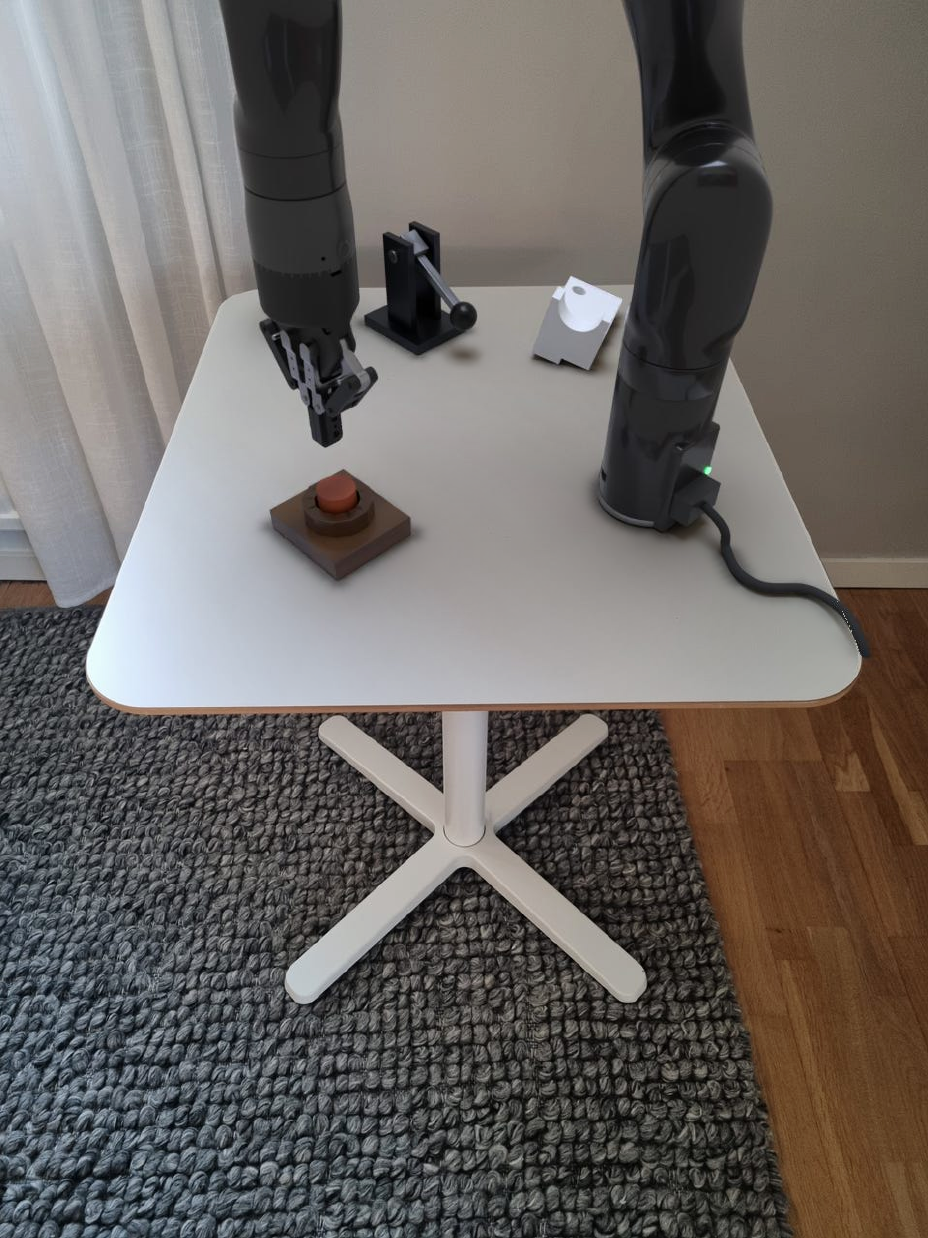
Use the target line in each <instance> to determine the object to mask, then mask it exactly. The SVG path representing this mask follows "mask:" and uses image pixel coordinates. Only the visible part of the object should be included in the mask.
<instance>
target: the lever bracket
mask: <svg viewBox="0 0 928 1238" xmlns="http://www.w3.org/2000/svg"><path fill="white" fill-rule="evenodd" d="M412 230H415V231H416V232H417V233H418V234H419V236H420V237H421V238H422V240H423V241H424V242H425V244H426V245H427V246H428V248H429V249H428V251H427V253H426V255H425V256H426V258H427V259H428V260H429V262H430V263H431V264H432V265H433V267H434V268H435V269H436V271H437V272H438V273H439V275H440V276H441V274H442V273H441V233H440V232H439V231H437V230H435V229H433V228H430V227H428V226H427V225H424V224H422V223H421V222H418V221H416V220H412V221H411V222H408V232H409V231H412ZM381 235H382V250H383V251H382V252H383V265H384V266H383V267H384V280H385V295H386V296H385V297H386V305H382V306H381V307H378V308H377V309H374V310H373V311H370V312H367V313H366V314H364V315H363V318H364V324H365V325H366V326H368V327H370V328H371V329H373V330H375V331H376V332H378V333H379V334H381V335H383V336H385V337H386V338H388V339H390V340H392V341H393V342H395V343H396V344H399V345H400V346H402V347H403V348H405V349H407V350H408V351H410V352H412V353H414V354H415V355H417V356H418V355H421V354H423V353H425V352H427V351H429V350H430V349H433V348H434V347H437V346H438V345H441V344H443V343H445V342H447V341H448V340H452V339H453V338H455V337H457V336H459V335H461V334H463V333H465V332H466V331H461V330H458V329H456V328H455V327H454V326H453V325H452V324H451V321H450V312H448V311H445V310H443V309H442V298H441V297H440V295H439V294H438V293H437V291H436V290H435V289H434V287H433V286H432V285H431V283H430V282H429V281H428V280H427V278H426V277H425V276H424V274H423V273H422V272H421V270H420V269H419V268H418V266H417V265H415V263H414V244H413V243H411V242H409V241H407V240H405V239H403V238H401V237H400V236H399V235H397V234H395V233H392V232H391V231H389V230H388V231H386V232H383V233H382V234H381ZM441 277H442V276H441Z"/></svg>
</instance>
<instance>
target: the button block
mask: <svg viewBox="0 0 928 1238" xmlns="http://www.w3.org/2000/svg"><path fill="white" fill-rule="evenodd" d="M333 475H342V476H346V477H349V478H350V479H352V480H353V481H354V483H355V485H356V493H357V504H356V506H355V507H354V508H353V509H352V510H350V511H348V512H346V513H340V514H331V513H326V512H324V511H322V510H321V509H320V507H319V505H318V498H317V492H316V487H317V485H318V483H319V482H320V481H321V480H322V479H320V480H318V481H317V482H315V483H313V484H311V485H309V486H308V487H307V488H306V489H305V490H303V491H301V492H298V493H297V494H295V495H294V496H291V497H290V498H288V499H287V500H285V501H283V502H281V503H279V504H277V505H276V506H274V507H272V508H270V509H268V510H269V515H270V516H269V517H270V520H271V524H272V525H271V526H272V528H273V529H275V531H277V532H278V533H279V534H281V535H282V536H283V537H284V538H285V539H287V540H288V541H289V542H290V543H291V544H292V545H294V546H295V547H296V548H298V549H299V550H300V551H301V552H302V553H304V555H306V556H307V557H308V558H309V559H311V560H312V561H313V562H315V564H317V565H318V566H319V567H320V568H322V569H323V570H324V571H325V572H327V574H329V575H330V576H331V577H333V578H334V579H335V580H337V581H339V580H341V579H342V578H343V577H345V576H347V575H349V574H350V573H351V572H353V571H356V569H358V568H359V567H361V566H363V565H364V564H366V563H368V562H369V561H371V560H372V559H374V558H375V557H377V556H379V555H380V554H382V553H383V552H385V551H386V550H388V549H389V548H391V547H393V546H394V545H396V544H398V543H399V542H401V541H403V540H404V539H406V538H407V537H409V536H410V535H412V527H411V524H412V523H411V517H410V516H409V515H408V514H407V513H406V512H404V511H402V509H400V508H398V507H397V506H396V505H395V504H393V503H392V502H390V501H389V500H387V499H386V498H384V497H383V496H382V495H380V494H379V493H378V492H376V491H375V490H373V488H371V487H370V486H369V485H368V484H366V483H365V482H364V481H362V480H360V479H359V478H357V477H356V476H354V475H353V474H351V473H350V472H349V471H347V470H346V469H344V468H342V469H340V470H339V471H337V472H335V473H333V474H332V475H330V476H333Z"/></svg>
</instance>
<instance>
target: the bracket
mask: <svg viewBox="0 0 928 1238" xmlns="http://www.w3.org/2000/svg"><path fill="white" fill-rule="evenodd" d="M622 303H623V299H622V298H621V297H618V296H616V295H614V294H612V293H609V292H607V291H605V290H603V289H600V288H598V287H596V286H594V285H592V284H590V283H587V282H585V281H583V280H581V279H579V278H576V277H574V276H573V275H570V277H569V278H568V280H567V282H566V283H565V285H564V287H561V286H559V285H558V286H557V288H556V289H555V291H554V292H553V294H552V296H551V298H550V301H549V303H548V306H547V309H546V311H545V315H544V317H543V319H542V322H541V325H540V327H539V328H540V329H539V330H538V333H537V336H536V338H535V341H534V344H533V346H532V349H531V353H533V354H535V355H537V356H539V357H541V358H543V359H546V360H548V361H550V362H552V363H554V364H556V365H560V362H561V361H562V360H564V361H566V362H569V363H571V364H573V365H576V366H578V367H580V368H582V369H584V370H585V371H586V370H587V371H590V368H591V366H592V364H593V362H594V360H595V359H596V356H597V354H598V353H599V351H600V348H601V346H602V344H603V342H604V341H605V338H606V336H607V334H608V332H609V331H610V328H611V326H612V324H613V322H614V319H615V317H616V315H617V313H618V312H619V309H620V307H621V304H622Z"/></svg>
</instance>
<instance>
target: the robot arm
mask: <svg viewBox="0 0 928 1238" xmlns="http://www.w3.org/2000/svg"><path fill="white" fill-rule="evenodd" d="M217 1H218V6H219V9H220V10H219V11H220V14H221V18H222V22H223V26H224V33H225V37H226V43H227V47H228V54H229V60H230V65H231V71H232V78H233V82H234V88H235V89H234V90H235V94H234V98H233V102H232V103H233V104H232V118H233V129H234V137H235V142H236V147H237V152H238V159H239V165H240V171H241V176H242V184H243V192H244V215H245V223H246V228H247V229H246V231H247V235H248V241H249V246H250V248H249V249H250V253H251V259H252V264H253V270H254V276H255V281H256V282H255V283H256V287H257V293H258V299H259V304H260V308H261V310H262V312H263V313H264V314H265V315H266V316H267V318H265V319H263V320H261V321H259V323H258V325H259V329H260V331H261V332H260V333H262V336H263V337H264V340H265V341H266V344H267V346H268V347H269V350H270V352H271V353H272V355H273V357H274V359H275V361H276V364H277V365H278V367H279V369H280V371H281V373H282V375H283V378H284V379H285V381H286V383H287V385H288V387H289V388H290V390H292V391H296V390H297V389H298V391H299V396H300V399H301V401H302V403H303V404H304V405H305V406H307V415H308V421H309V427H310V433H311V439H312V440H313V441H314V442H316V443H317V444H318V445H320V446H321V447H322V448H323V449H327V448H329V447H330V446H333V445H334V444H336V443H338V442H340V441H341V440H342V439H343V438H344V437H343V436H344V429H343V421H342V413H344V412H345V411H348V410H350V409H353V408H355V407H357V406H358V405H359V403H361V402H362V400H363V399H364V398H365V396H366V395H367V394H368V392H369V391H370V390H371V389H372V387H373V386H374V385H375V384H376V383H377V382H378V380H379V376H378V372H377V370H376V369H375V368H374V367H373V366H367V367H365V368H364V367H363V365H362V364H361V362H360V361H359V359H358V358H357V356H356V354H355V352H356V349H357V343H356V338H355V336H354V333H353V330H352V327H351V321H352V318H353V315H354V314H355V312H356V311H357V308H358V306H359V303H360V300H361V296H360V295H361V293H360V284H359V271H358V270H359V268H358V258H357V257H358V256H357V246H356V233H355V221H354V211H353V205H352V200H351V195H350V191H349V186H348V179H347V167H346V166H347V165H346V155H345V142H344V133H343V125H342V119H341V111H340V95H341V83H342V63H343V35H344V34H343V33H344V32H343V31H344V30H343V26H344V23H343V22H344V21H343V20H344V18H343V2H342V1H343V0H217ZM620 1H621V6H622V9H623V12H624V16H625V19H626V23H627V26H628V30H629V33H630V36H631V40H632V44H633V49H634V53H635V59H636V64H637V71H638V79H639V90H640V108H641V109H640V110H641V129H642V130H641V131H642V132H641V133H642V135H641V136H642V137H641V139H642V178H641V206H642V208H641V209H642V219H643V224H642V225H643V226H642V233H641V238H640V239H641V240H640V246H639V252H638V259H637V266H636V272H635V277H634V284H633V289H632V295H631V300H630V302H629V303H628V306H627V308H626V311H625V315H624V323H623V330H622V336H621V337H622V338H621V343H620V348H619V350H620V351H619V357H618V361H617V362H618V363H617V368H616V375H615V382H614V388H613V392H612V393H613V394H612V401H611V408H610V413H609V420H608V425H607V433H606V440H605V445H604V451H603V452H604V453H603V457H602V461H601V465H600V470H599V474H598V478H599V479H598V480H597V499H598V500H599V502H600V504H601V506H602V507H603V508H604V510H605V511H606V512H608V513H609V514H610V515H611V516H612V517H614V518H616V519H617V520H620V521H622V522H624V523H627V524H630V525H634V526H639V527H647V528H653V529H656V530H658V531H659V532H661V533H662V532H663V533H664V532H666V531H667V530H668V529H670V528H671V527H672V526H673V525H675V524H676V523H679V524H681V525H683V526H684V527H685V528H686V527H687V528H688V526H690V525H691V524H692V523H693V522H695V521H696V520H697V519H699V518H700V517H702V515H704V514H705V515H706V516H707V517H708V518H709V519H710V520H711V521H712V522H713V523H714V524H715V527H716V528H717V529H718V531H719V534H720V539H719V541H720V549H721V553H722V555H723V557H724V559H725V562H726V565H727V567H728V569H729V570H730V572H731V573H732V574H733V575H734V577H735V578H737V579H738V580H739V581H740V582H742V583H743V584H745V585H747V586H748V587H750V588H752V589H753V590H757V591H760V592H765V593H771V594H786V593H787V594H791V593H792V594H794V593H795V594H804V595H807V596H810V597H812V598H814V599H816V600H818V601H820V602H822V603H823V604H825V605H827V606H828V607H830V608H831V609H832V610H833V611H834V612H836V613H837V614H838V615H839V616H840V618H841V619H842V620H843V622H844V623H845V625H846V626H847V628H848V629H849V631H850V633H851V635H852V638H853V640H854V642H855V644H856V643H857V645H856V647H857V646H858V648H857V651H858V653H859V652H860V653H859V655H860V656H861V657H862V658H864V659H867V660H868V659H871V658H872V652H871V649H870V645H869V643H868V639H867V637H866V636H865V635H866V634H865V633H864V631H863V629H862V627H861V625H860V623H859V621H858V620H857V618H856V616H855V615H854V613H853V612H852V611H851V610H850V609H849V607H848V606H846V604H844V603H843V602H842V601H840V599H838V598H836V597H835V596H833V595H832V594H830V593H828V592H826V591H824V590H822V589H821V588H820V587H816V586H814V585H811V584H807V583H802V582H801V583H800V582H768V581H765V580H764V581H763V580H760V579H759V578H757V577H754V576H753V575H751V574H749V573H748V572H746V570H744V569H743V568H742V567H741V566H740V564H739V563H738V560H737V559H736V557H735V554H734V552H733V549H732V546H731V539H732V538H731V535H732V534H731V531H730V529H729V526H728V523H727V522H726V521H725V519H724V518H723V517H722V516H721V514H720V513H719V512H717V510H716V509H715V508H714V506H715V505H716V504H717V500H718V496H719V493H720V489H721V486H722V483H721V482H720V481H718V480H716V479H715V478H713V477H711V476H709V474H710V472H711V471H712V467H711V464H712V461H713V456H714V453H715V449H716V446H717V442H718V439H719V434H720V431H721V425H720V423H717V422H716V421H714V417H715V414H716V410H717V406H718V402H719V398H720V394H721V391H722V388H723V383H724V380H725V375H726V372H727V368H728V363H729V360H730V357H731V353H732V349H733V346H734V342H735V339H736V336H737V335H738V333H740V331H741V329H742V328H743V325H744V324H745V322H746V319H747V316H748V313H749V310H750V307H751V304H752V300H753V297H754V294H755V291H756V287H757V284H758V280H759V277H760V274H761V270H762V267H763V263H764V261H765V257H766V253H767V250H768V245H769V242H770V237H771V233H772V229H773V223H774V222H773V221H774V215H775V202H774V201H775V199H774V195H773V190H772V187H771V183H770V180H769V177H768V174H767V171H766V168H765V165H764V162H763V159H762V155H761V152H760V148H759V145H758V141H757V137H756V134H755V133H756V132H755V127H754V122H753V115H752V109H751V102H750V96H749V95H750V94H749V87H748V78H747V71H746V62H745V61H746V60H745V49H744V20H745V19H744V18H745V8H746V7H745V6H746V0H620ZM837 601H838V602H837ZM842 611H843V612H842ZM843 613H844V615H845V617H844V615H843ZM845 618H846V619H847V620H846V619H845ZM847 621H848V623H847ZM849 625H850V627H849ZM851 630H852V632H851ZM855 640H856V641H855ZM858 649H859V650H858Z"/></svg>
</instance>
